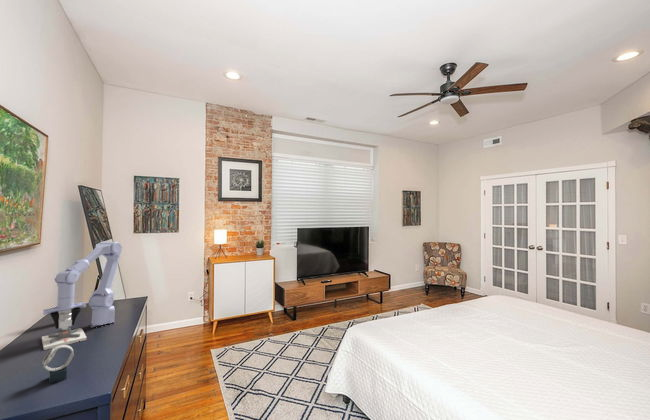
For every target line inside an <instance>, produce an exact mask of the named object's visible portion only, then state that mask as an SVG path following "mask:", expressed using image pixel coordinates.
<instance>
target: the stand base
mask: <svg viewBox="0 0 650 420" xmlns="http://www.w3.org/2000/svg"><path fill="white" fill-rule="evenodd" d="M61 329H62V328H59V329H58V332H57V333H50V334H47V335H44V336H43V335H42V336H41V344H42V348H43V351H45V350H51V349H52V348H55V347H56V346H60V345H71V344H75V343H80V342H83V341H87V337H88V336H86V333H85V332H84V330H83V329H82V327H81V328H80V327H79V328H75V329H71V327H68V330H65V331H61ZM79 341H80V342H79Z"/></svg>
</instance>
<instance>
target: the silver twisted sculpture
mask: <svg viewBox="0 0 650 420" xmlns="http://www.w3.org/2000/svg"><path fill="white" fill-rule="evenodd" d="M75 295H76V293H75V292H74V298H75ZM58 313H59V320H60V319H65V318H71V310H66V311H61V312H58Z"/></svg>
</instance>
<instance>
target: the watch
mask: <svg viewBox="0 0 650 420" xmlns="http://www.w3.org/2000/svg"><path fill="white" fill-rule="evenodd" d="M59 349H69V350H70V354H69V357H68V358H67V360H66V361H65V363H64V364H62V365H57V366H54V367H50V366H48V364H49V363H50V362H51V361H52V360H53V358H54V357H55V355H56V353H57V351H58V350H59ZM74 355H75V353H74V349H73V347H72V346H71V345H69V344H67V345H60V346H56V347H55V348H51V349H49V351H47V353H46V355H45V356H44V358H43V360H42V362H41V364H42V365H43V368H44V369H45V370H46V371H48V373H49V376H48V379H49V380H48V381H49V383H48V384H49V385H50V384H54V383H57V382H60V380H61V381H65V380H67V373H68V371H67V370H68V367H67V366H68V365H69V364H70V363H71V361H72V360H73V358H74ZM64 379H65V380H64Z"/></svg>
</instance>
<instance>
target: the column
mask: <svg viewBox="0 0 650 420" xmlns="http://www.w3.org/2000/svg"><path fill="white" fill-rule="evenodd" d="M72 326H73V325H72V319H71V318H65V319H60V320H59V328H58V329H61V331H65V330H68V328H69V327H72Z"/></svg>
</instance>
